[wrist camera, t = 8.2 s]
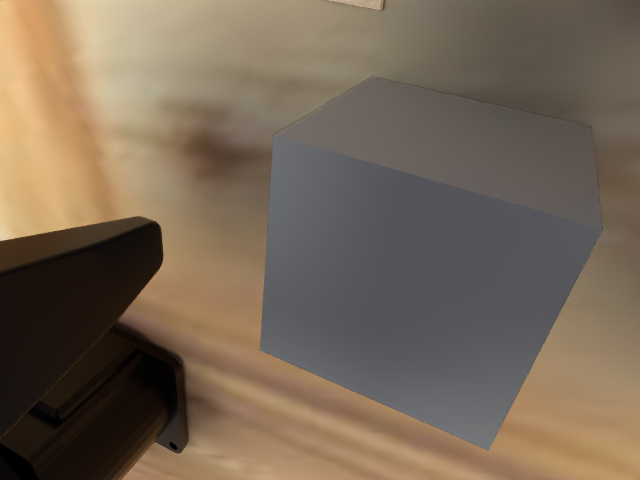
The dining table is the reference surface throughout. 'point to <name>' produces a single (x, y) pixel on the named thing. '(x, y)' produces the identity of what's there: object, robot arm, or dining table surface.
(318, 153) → the gray cube
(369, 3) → the letter
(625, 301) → the dining table surface
